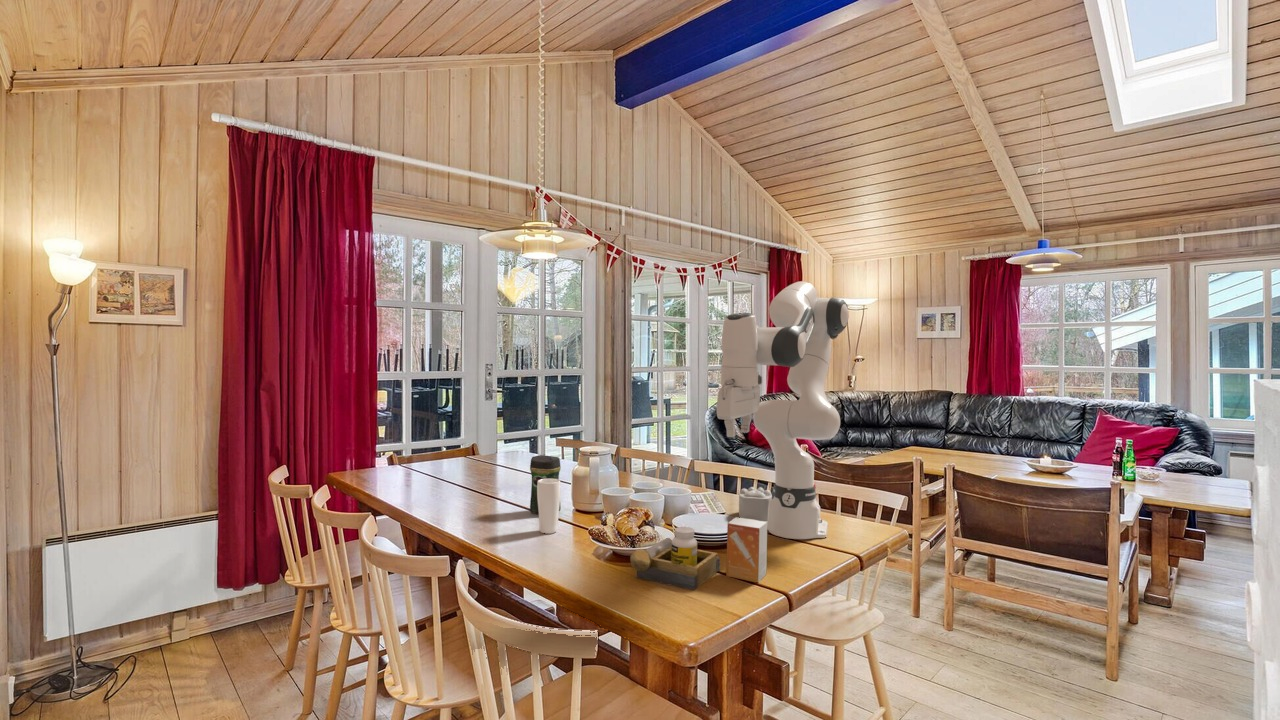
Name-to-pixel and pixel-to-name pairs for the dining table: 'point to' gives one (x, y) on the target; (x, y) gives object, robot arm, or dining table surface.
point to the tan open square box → (673, 566)
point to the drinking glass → (548, 504)
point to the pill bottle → (684, 546)
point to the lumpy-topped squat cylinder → (754, 503)
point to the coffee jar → (542, 475)
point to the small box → (746, 549)
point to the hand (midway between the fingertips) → (738, 434)
